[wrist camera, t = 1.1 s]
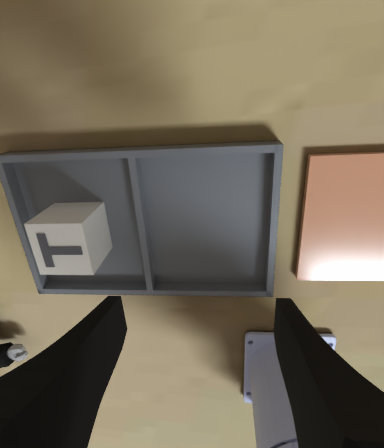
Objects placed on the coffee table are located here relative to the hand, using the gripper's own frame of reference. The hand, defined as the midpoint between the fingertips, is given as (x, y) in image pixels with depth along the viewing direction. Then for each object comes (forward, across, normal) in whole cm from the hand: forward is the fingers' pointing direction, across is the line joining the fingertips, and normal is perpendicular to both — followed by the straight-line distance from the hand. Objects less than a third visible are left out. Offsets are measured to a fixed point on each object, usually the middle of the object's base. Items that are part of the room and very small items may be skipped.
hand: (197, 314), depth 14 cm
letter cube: (+10, +10, 0) cm, 14 cm away
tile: (+10, -12, 0) cm, 16 cm away
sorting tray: (+10, +5, 0) cm, 11 cm away
